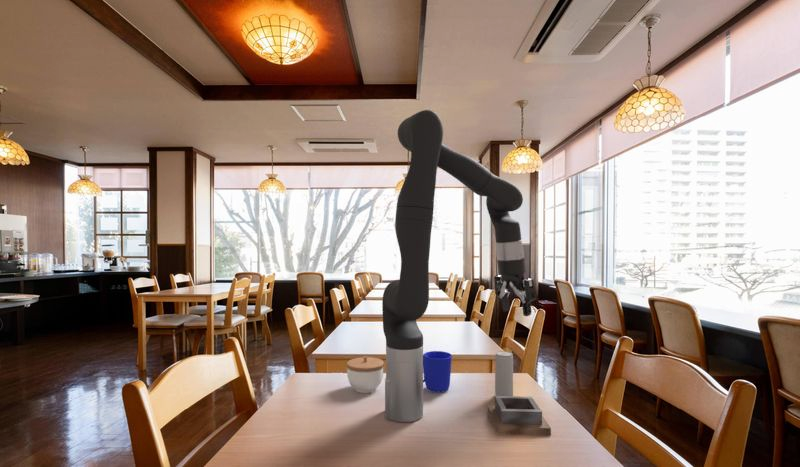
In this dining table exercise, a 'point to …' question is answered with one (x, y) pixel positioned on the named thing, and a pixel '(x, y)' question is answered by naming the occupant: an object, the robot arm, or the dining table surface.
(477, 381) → the dining table surface
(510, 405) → the can holder
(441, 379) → the mug
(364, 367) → the lidded jar
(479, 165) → the robot arm
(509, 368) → the beverage can
